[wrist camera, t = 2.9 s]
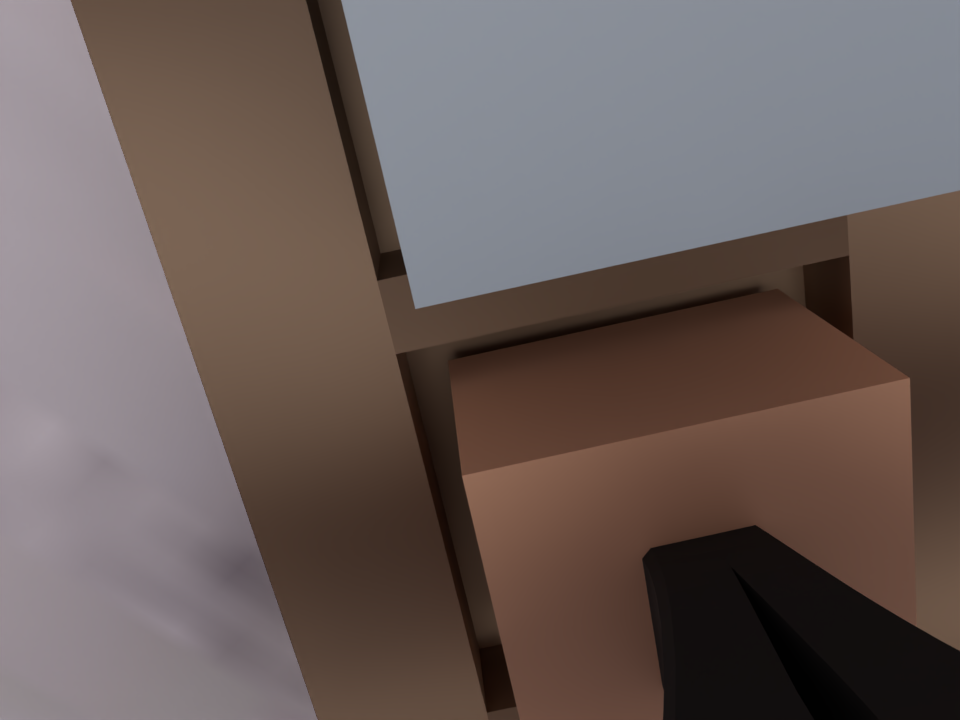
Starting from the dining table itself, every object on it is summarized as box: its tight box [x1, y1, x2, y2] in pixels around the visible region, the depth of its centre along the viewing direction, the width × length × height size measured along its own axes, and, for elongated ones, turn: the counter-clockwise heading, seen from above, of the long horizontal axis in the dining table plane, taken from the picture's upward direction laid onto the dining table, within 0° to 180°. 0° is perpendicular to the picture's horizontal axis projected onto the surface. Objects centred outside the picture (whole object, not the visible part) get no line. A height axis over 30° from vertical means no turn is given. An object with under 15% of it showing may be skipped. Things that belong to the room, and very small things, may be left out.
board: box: [71, 0, 960, 720], centre depth 13 cm, size 26×11×2 cm, turn 11°
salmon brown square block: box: [448, 289, 917, 720], centre depth 12 cm, size 5×5×4 cm
